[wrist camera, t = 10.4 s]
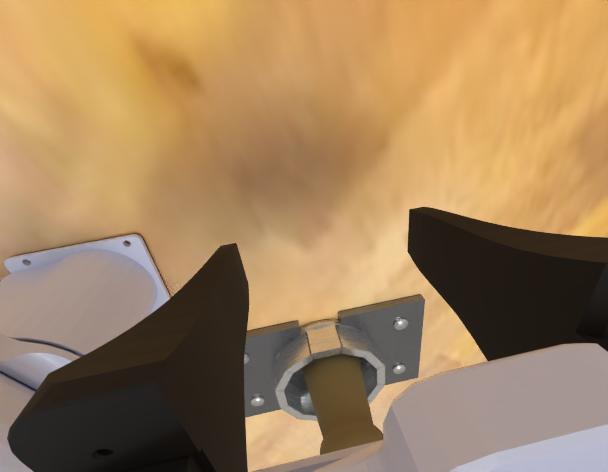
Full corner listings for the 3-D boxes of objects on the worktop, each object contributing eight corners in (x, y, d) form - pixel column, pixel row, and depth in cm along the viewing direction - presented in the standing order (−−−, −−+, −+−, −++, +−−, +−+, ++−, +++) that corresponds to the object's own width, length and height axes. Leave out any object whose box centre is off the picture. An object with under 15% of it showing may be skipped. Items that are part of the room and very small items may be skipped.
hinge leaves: (241, 411, 33) (239, 444, 30) (210, 338, 27) (204, 371, 24) (414, 371, 34) (430, 399, 31) (420, 294, 28) (440, 319, 25)
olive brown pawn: (356, 367, 31) (402, 495, 21) (301, 378, 30) (322, 514, 21) (356, 326, 28) (408, 454, 18) (295, 338, 27) (315, 475, 18)
